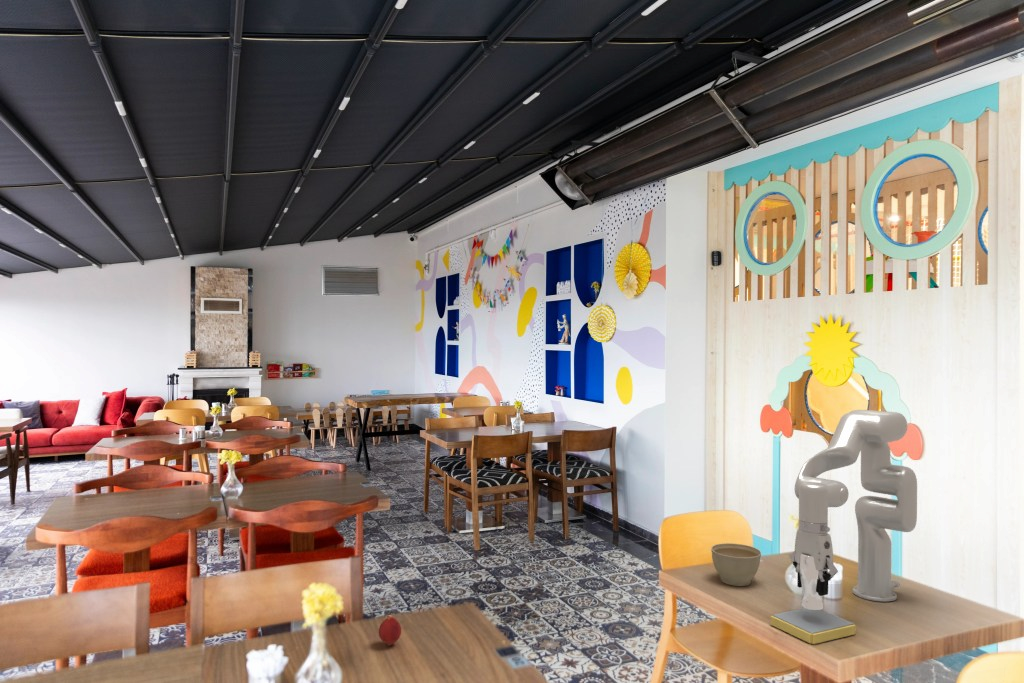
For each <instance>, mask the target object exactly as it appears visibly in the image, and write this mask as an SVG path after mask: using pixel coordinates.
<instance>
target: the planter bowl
mask: <svg viewBox="0 0 1024 683" xmlns="http://www.w3.org/2000/svg"><path fill="white" fill-rule="evenodd" d="M710 551H711V558H712V564H713V566H714V569H715V570H716V572H717V574H718V575H719V577H720V581H721V582H722V583H724V584H726V585H730V586H733V587H746V586H749V585H751V582H752V580H753V578H755V576H756V574H757V573H758V570H759V568H760V564H761V557H762V552H761V550H760V549H758V548H756V547H753V546H750V545H747V544H739V543H732V542H731V543H729V542H726V543H725V542H723V543H718V544H714V545H712V546H711V547H710Z"/></svg>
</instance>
